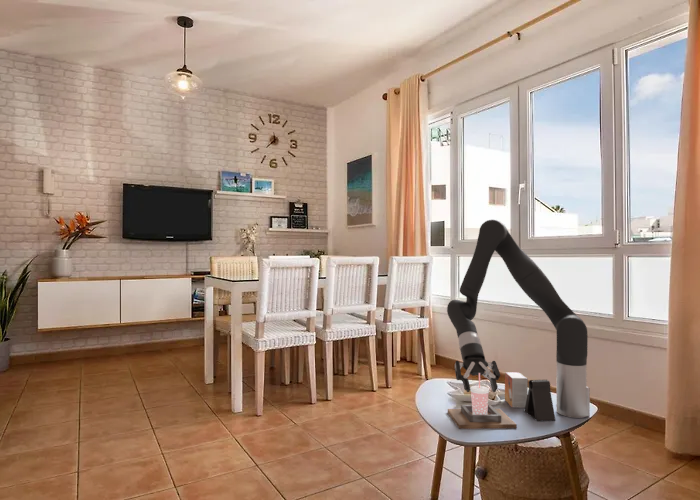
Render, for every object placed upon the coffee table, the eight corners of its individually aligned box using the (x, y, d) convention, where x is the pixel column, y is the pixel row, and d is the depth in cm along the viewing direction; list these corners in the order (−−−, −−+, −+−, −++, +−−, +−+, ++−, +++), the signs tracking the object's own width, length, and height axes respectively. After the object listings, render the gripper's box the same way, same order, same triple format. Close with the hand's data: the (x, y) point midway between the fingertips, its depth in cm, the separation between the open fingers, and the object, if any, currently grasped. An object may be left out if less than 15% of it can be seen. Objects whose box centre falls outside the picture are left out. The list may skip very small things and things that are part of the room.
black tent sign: (555, 421, 142) (555, 384, 142) (537, 421, 141) (537, 384, 142) (541, 411, 151) (541, 376, 151) (524, 411, 150) (524, 376, 151)
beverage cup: (471, 411, 147) (471, 369, 147) (490, 414, 144) (490, 371, 144) (468, 417, 141) (468, 374, 141) (488, 420, 139) (488, 376, 139)
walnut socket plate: (499, 412, 150) (499, 402, 150) (516, 428, 136) (516, 417, 136) (447, 412, 149) (447, 403, 149) (459, 428, 135) (459, 418, 135)
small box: (504, 400, 162) (504, 371, 162) (519, 400, 162) (519, 372, 162) (511, 407, 154) (511, 377, 154) (527, 408, 154) (527, 378, 154)
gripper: (452, 341, 150) (462, 385, 138) (493, 341, 150) (506, 385, 139) (448, 353, 155) (457, 396, 144) (488, 353, 156) (500, 396, 144)
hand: (481, 390), depth 141 cm, fingers open, 8 cm apart
